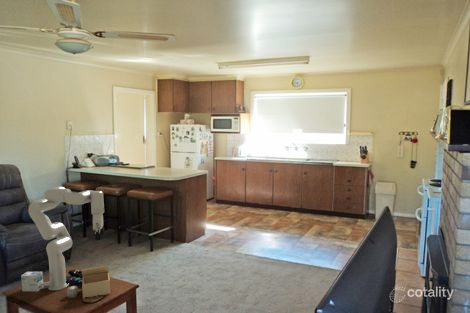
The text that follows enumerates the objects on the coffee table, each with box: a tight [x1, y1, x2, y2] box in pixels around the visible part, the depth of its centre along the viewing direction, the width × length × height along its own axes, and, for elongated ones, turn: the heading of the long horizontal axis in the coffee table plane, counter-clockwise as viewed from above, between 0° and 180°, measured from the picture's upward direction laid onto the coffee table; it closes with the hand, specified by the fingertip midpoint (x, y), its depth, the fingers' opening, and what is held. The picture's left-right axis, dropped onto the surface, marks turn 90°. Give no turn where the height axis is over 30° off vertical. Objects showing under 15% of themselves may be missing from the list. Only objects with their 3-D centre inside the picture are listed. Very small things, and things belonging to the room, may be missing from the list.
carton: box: [81, 272, 111, 299], centre depth 231 cm, size 16×14×9 cm
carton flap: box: [81, 265, 110, 277], centre depth 232 cm, size 16×14×1 cm
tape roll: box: [66, 285, 79, 299], centre depth 226 cm, size 6×6×5 cm
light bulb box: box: [20, 271, 45, 292], centre depth 235 cm, size 11×7×11 cm, turn 87°
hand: (99, 237), depth 228 cm, fingers open, 9 cm apart
